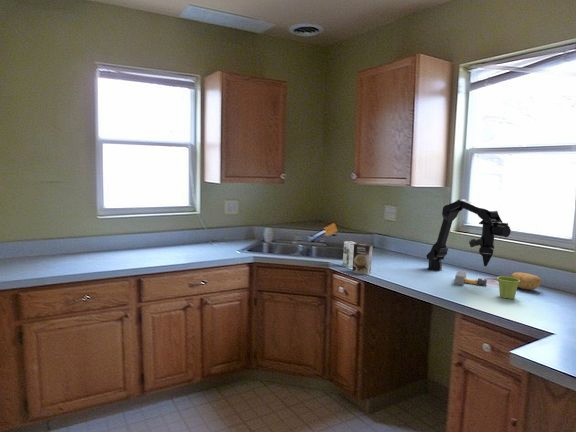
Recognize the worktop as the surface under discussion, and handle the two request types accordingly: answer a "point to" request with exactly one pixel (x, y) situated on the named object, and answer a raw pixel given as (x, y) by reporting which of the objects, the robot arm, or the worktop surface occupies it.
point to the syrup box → (348, 253)
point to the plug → (476, 281)
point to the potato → (527, 280)
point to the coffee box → (362, 258)
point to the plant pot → (508, 287)
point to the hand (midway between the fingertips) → (485, 264)
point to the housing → (460, 277)
